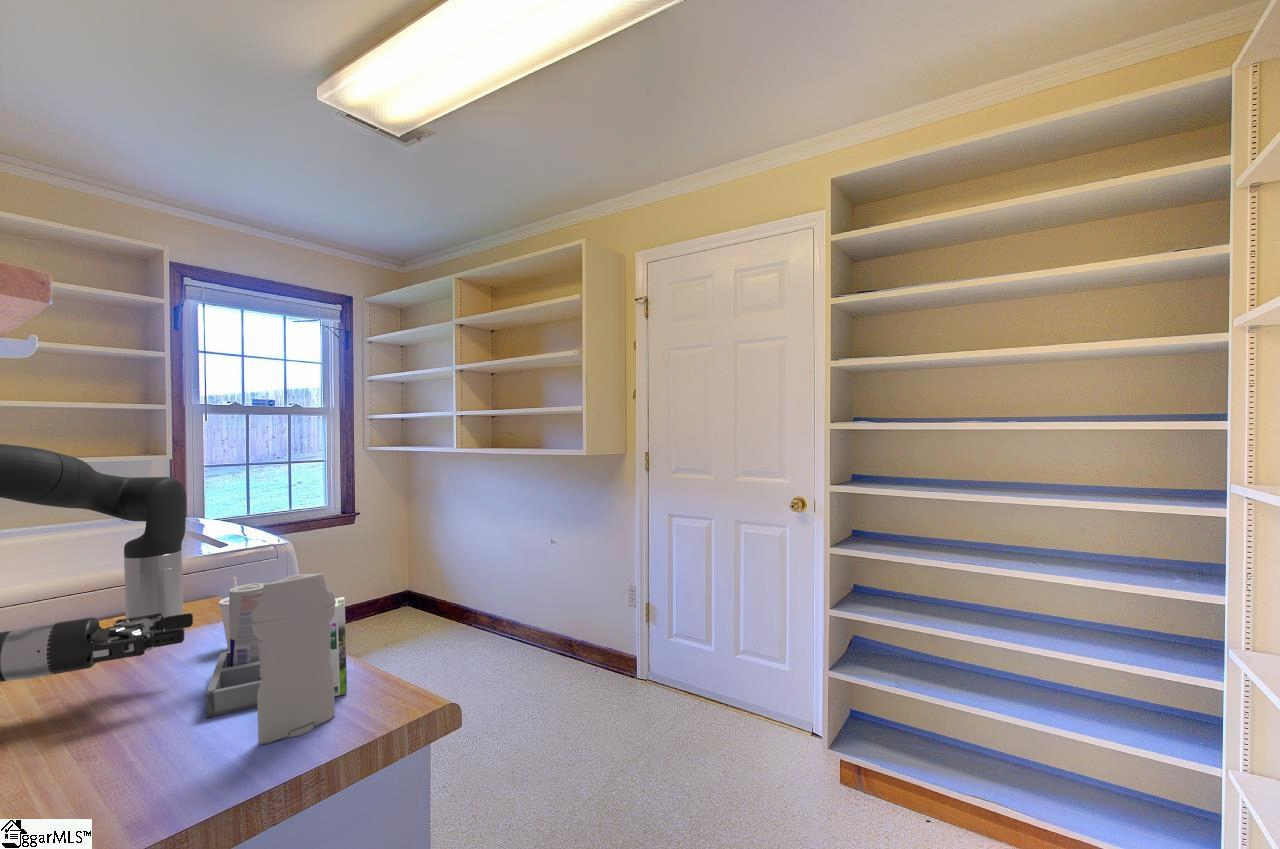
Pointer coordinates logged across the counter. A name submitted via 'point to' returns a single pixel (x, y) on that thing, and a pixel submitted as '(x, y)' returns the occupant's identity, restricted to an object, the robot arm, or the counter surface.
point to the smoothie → (226, 615)
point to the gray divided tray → (232, 687)
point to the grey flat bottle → (294, 656)
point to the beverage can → (243, 623)
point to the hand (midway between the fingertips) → (188, 626)
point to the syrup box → (339, 648)
